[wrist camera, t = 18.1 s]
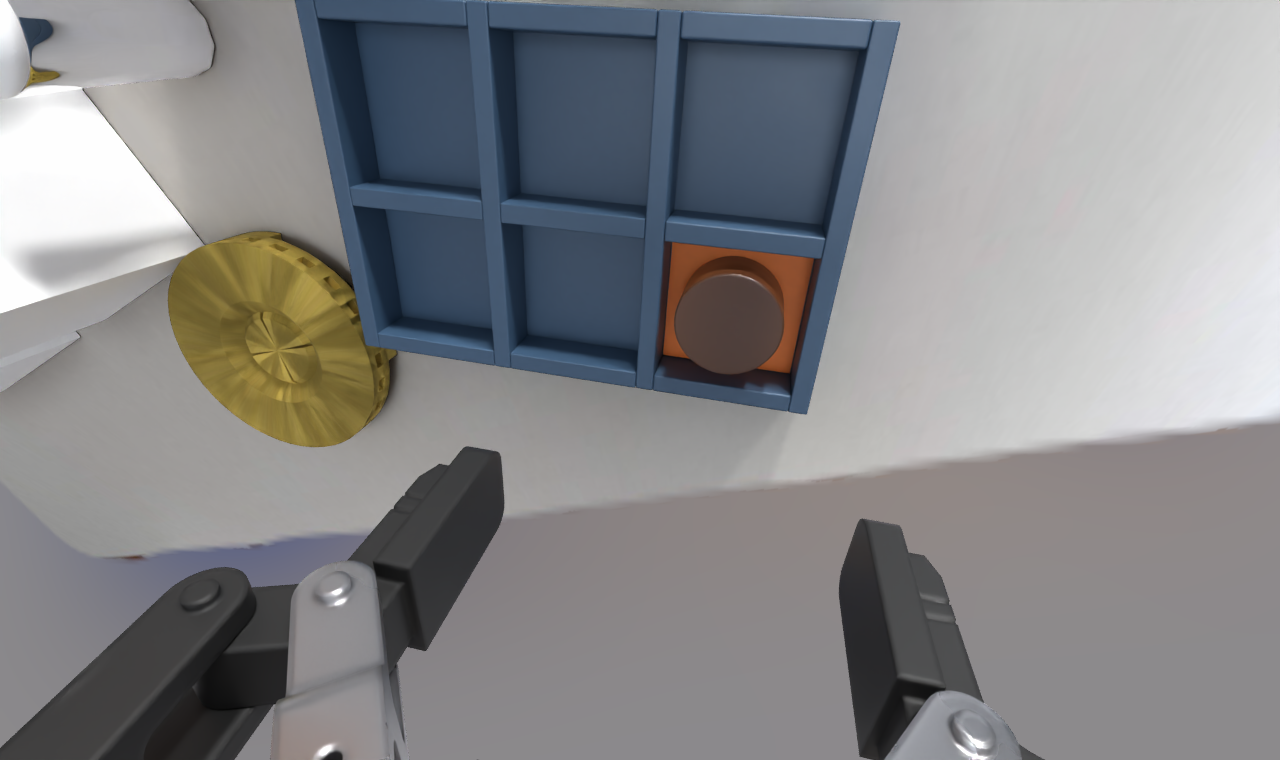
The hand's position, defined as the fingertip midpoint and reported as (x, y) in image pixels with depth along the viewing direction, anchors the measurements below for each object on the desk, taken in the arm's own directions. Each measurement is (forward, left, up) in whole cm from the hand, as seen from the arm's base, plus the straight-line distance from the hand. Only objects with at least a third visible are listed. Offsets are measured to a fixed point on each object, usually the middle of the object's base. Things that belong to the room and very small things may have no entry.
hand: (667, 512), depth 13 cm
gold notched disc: (-23, -6, -15) cm, 28 cm away
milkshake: (-25, +9, -15) cm, 31 cm away
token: (+1, 0, -14) cm, 14 cm away
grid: (-6, +3, -15) cm, 16 cm away
